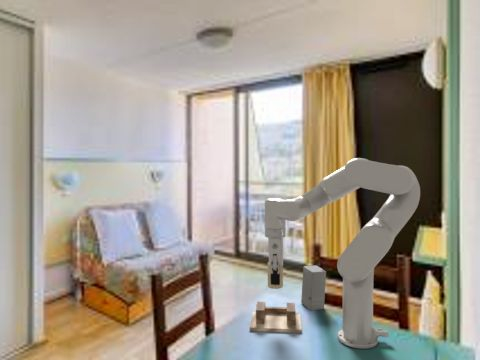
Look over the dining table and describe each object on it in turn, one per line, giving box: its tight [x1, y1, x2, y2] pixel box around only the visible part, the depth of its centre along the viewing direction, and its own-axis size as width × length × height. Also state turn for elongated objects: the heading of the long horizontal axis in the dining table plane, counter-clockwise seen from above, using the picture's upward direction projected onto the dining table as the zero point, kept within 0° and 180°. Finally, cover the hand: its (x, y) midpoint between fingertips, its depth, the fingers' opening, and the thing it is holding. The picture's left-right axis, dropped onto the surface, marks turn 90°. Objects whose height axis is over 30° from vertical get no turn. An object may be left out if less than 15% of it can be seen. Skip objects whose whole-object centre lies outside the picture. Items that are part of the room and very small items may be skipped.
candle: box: [267, 261, 284, 290], centre depth 131 cm, size 6×6×10 cm
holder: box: [249, 301, 303, 334], centre depth 132 cm, size 18×14×6 cm
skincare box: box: [300, 264, 327, 311], centre depth 147 cm, size 8×7×16 cm
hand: (275, 281), depth 131 cm, fingers closed on candle, 5 cm apart
